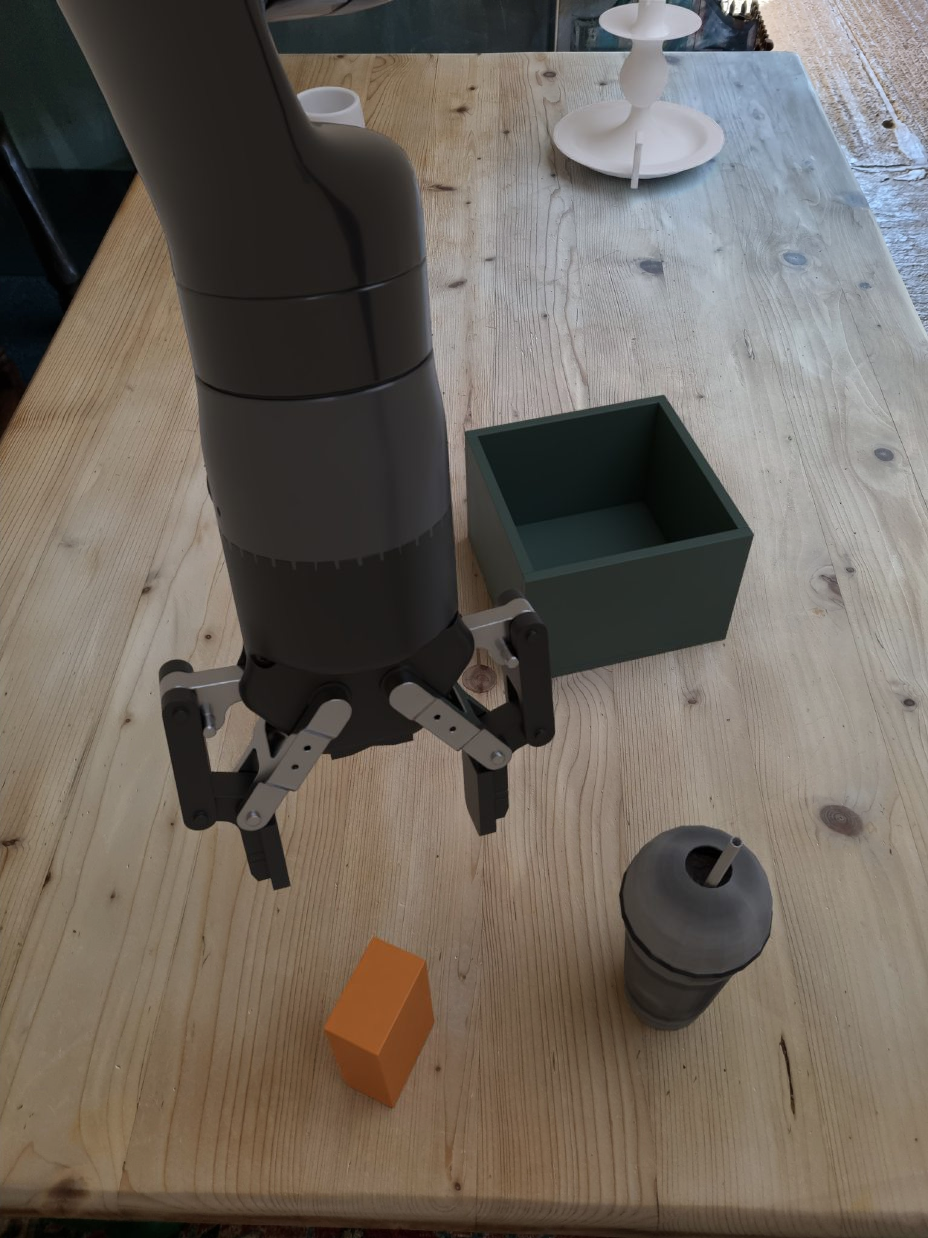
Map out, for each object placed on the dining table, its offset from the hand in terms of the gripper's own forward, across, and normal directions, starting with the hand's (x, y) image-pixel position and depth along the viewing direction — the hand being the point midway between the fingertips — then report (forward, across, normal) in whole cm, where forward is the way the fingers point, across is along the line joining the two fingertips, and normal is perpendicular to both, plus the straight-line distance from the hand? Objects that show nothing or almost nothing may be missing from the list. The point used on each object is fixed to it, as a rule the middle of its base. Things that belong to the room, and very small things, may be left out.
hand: (383, 846), depth 41 cm
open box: (+11, +23, +31) cm, 40 cm away
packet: (+20, -1, +4) cm, 20 cm away
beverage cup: (+19, +15, +2) cm, 25 cm away
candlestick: (-7, +54, +91) cm, 106 cm away
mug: (-10, +19, +110) cm, 112 cm away
